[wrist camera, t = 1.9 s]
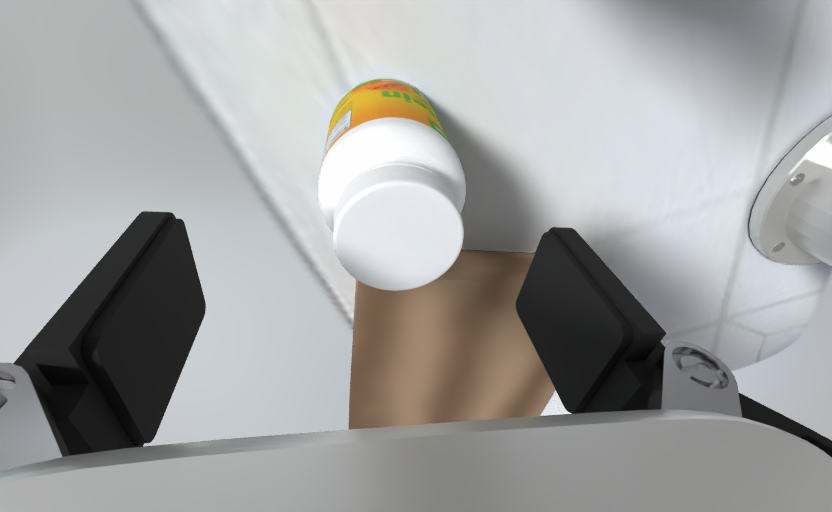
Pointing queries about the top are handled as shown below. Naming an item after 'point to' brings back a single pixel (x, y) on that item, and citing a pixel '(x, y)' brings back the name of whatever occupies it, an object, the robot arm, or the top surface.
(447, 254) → the supplement bottle
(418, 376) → the walnut base
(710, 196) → the top surface
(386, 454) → the robot arm
